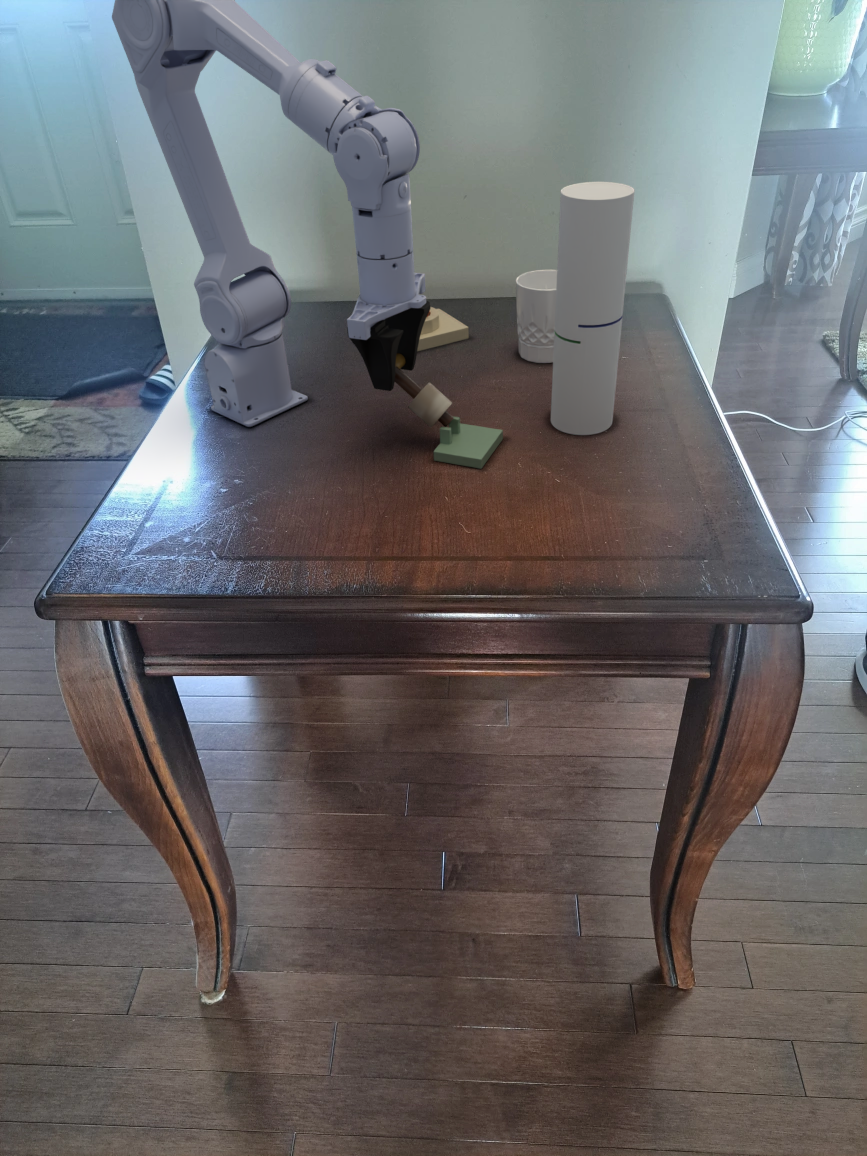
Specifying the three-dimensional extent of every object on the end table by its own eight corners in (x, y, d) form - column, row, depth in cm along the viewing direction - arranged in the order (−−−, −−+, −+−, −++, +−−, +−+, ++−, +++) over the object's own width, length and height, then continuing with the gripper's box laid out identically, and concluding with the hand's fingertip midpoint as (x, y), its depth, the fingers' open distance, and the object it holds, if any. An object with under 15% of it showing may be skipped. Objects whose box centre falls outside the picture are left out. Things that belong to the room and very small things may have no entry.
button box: (393, 357, 114) (391, 333, 112) (366, 336, 120) (364, 313, 118) (469, 338, 118) (468, 314, 116) (439, 319, 124) (438, 296, 122)
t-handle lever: (366, 383, 90) (382, 361, 87) (385, 365, 93) (401, 343, 91) (432, 442, 91) (450, 422, 89) (449, 423, 94) (466, 403, 92)
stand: (433, 460, 91) (432, 436, 89) (457, 431, 96) (456, 408, 94) (481, 469, 89) (481, 444, 87) (503, 439, 94) (503, 415, 92)
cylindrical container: (611, 436, 93) (633, 199, 78) (547, 433, 95) (557, 199, 79) (613, 408, 99) (634, 181, 83) (553, 405, 100) (563, 181, 85)
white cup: (572, 342, 115) (576, 268, 109) (574, 365, 109) (578, 289, 103) (515, 342, 116) (516, 269, 110) (513, 365, 110) (514, 290, 104)
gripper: (389, 278, 76) (399, 412, 84) (449, 233, 86) (452, 357, 95) (322, 271, 78) (338, 402, 87) (388, 228, 89) (397, 349, 97)
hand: (394, 378), depth 91 cm, fingers closed on t-handle lever, 5 cm apart
